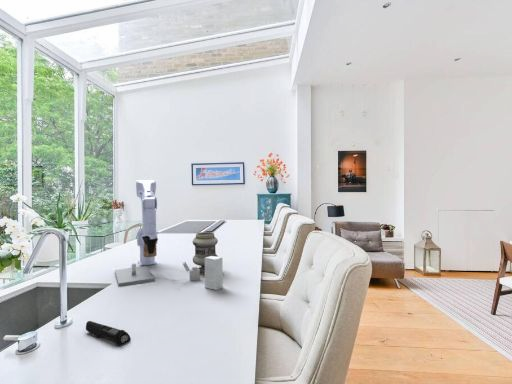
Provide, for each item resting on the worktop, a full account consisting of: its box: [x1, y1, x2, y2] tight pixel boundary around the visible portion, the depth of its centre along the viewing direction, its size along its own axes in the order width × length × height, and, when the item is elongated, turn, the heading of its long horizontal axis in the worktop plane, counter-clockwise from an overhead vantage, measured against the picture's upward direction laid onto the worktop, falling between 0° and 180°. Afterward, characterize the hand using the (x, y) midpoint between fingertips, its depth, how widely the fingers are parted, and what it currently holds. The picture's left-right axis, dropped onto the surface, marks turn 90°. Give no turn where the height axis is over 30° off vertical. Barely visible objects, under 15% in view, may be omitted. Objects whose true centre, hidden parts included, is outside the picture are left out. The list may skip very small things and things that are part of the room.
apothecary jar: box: [192, 231, 219, 275], centre depth 141 cm, size 12×12×18 cm
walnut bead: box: [143, 244, 157, 257], centre depth 139 cm, size 5×5×5 cm
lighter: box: [182, 261, 201, 281], centre depth 128 cm, size 7×2×8 cm, turn 107°
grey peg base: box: [114, 262, 156, 287], centre depth 133 cm, size 22×14×6 cm, turn 29°
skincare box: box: [204, 256, 224, 291], centre depth 118 cm, size 6×4×12 cm
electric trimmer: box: [85, 320, 132, 347], centre depth 80 cm, size 4×16×3 cm, turn 62°
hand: (149, 252), depth 139 cm, fingers closed on walnut bead, 5 cm apart
